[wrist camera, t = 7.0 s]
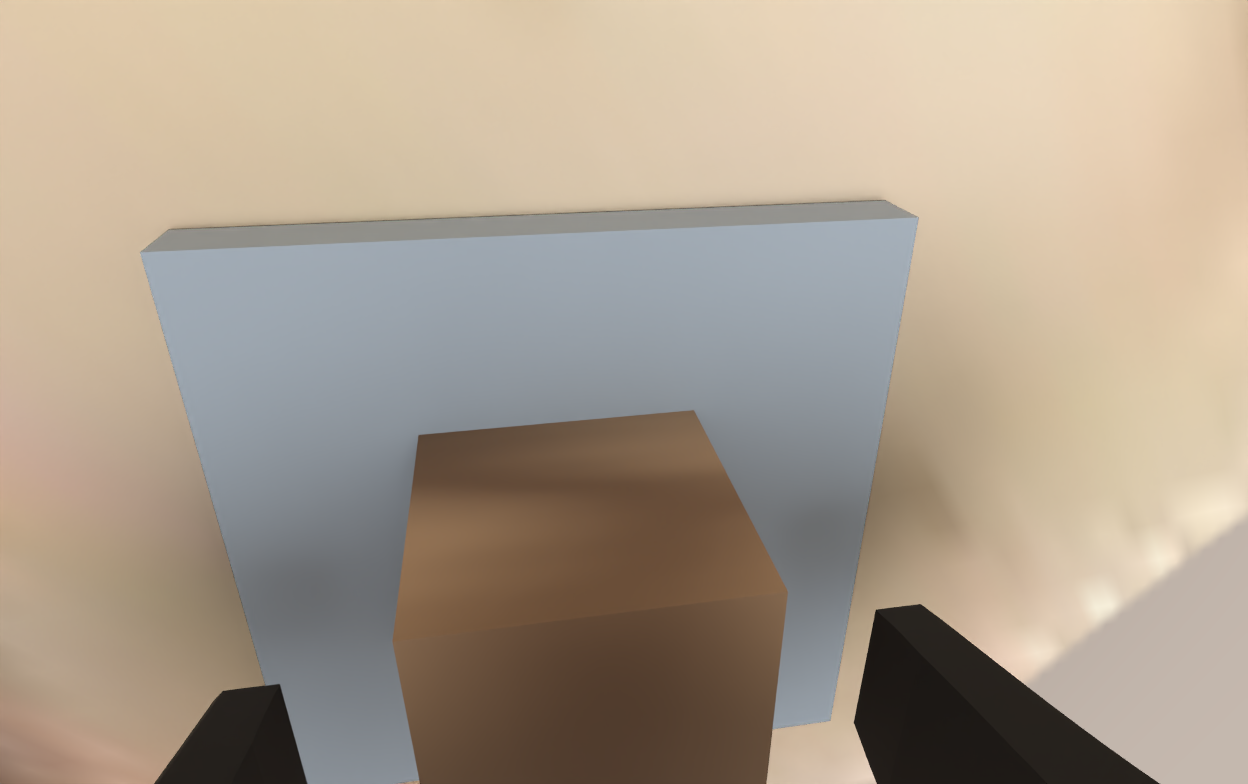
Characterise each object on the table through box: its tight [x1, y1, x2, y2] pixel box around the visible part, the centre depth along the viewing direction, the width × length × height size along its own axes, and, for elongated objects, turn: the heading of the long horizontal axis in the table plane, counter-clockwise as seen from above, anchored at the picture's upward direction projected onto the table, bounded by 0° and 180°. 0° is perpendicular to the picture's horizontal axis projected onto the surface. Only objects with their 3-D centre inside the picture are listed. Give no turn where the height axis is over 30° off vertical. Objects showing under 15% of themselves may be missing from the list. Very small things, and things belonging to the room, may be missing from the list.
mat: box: [140, 200, 919, 784], centre depth 13 cm, size 10×10×1 cm
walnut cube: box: [392, 410, 788, 784], centre depth 11 cm, size 4×4×4 cm
